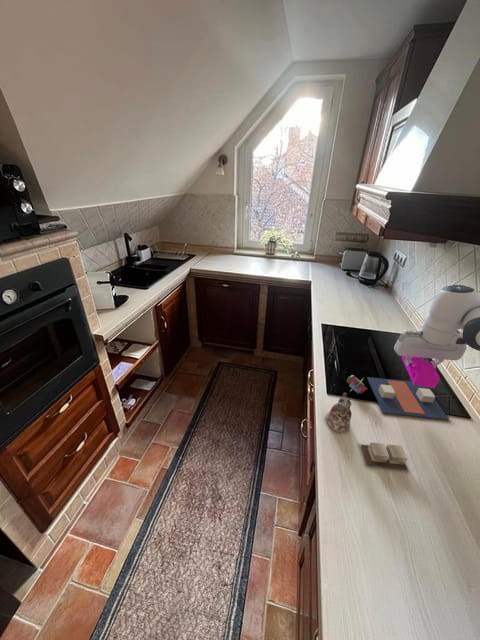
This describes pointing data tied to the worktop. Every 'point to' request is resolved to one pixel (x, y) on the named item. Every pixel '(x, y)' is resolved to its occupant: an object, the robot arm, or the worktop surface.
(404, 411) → the blue orange board
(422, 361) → the toy block
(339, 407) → the figurine
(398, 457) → the word strip left
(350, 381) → the geometric puzzle
